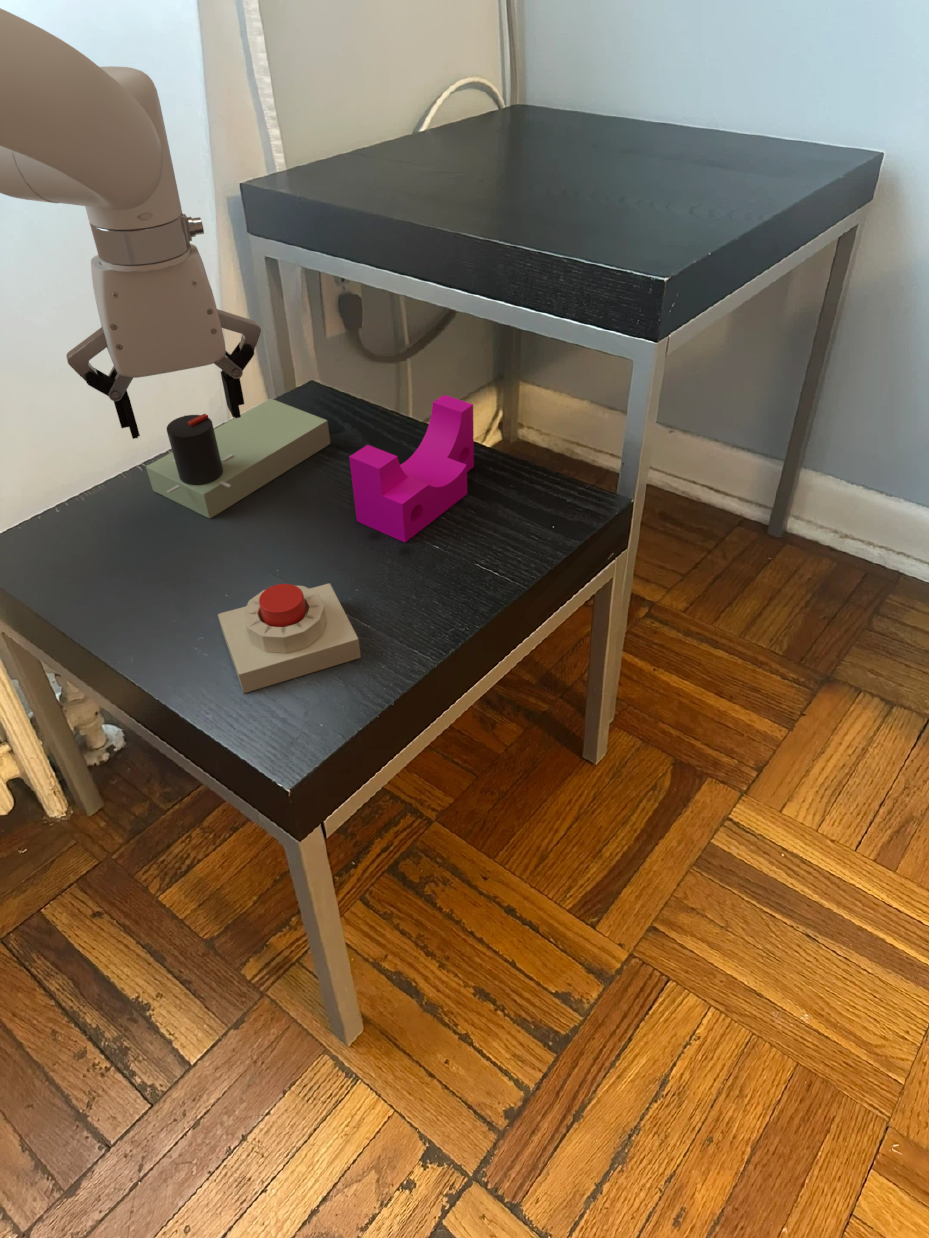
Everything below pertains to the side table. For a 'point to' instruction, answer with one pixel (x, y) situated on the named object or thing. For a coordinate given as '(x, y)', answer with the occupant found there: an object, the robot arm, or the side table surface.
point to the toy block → (416, 474)
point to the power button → (282, 605)
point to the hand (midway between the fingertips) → (185, 422)
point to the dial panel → (246, 456)
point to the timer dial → (195, 449)
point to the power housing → (289, 640)
